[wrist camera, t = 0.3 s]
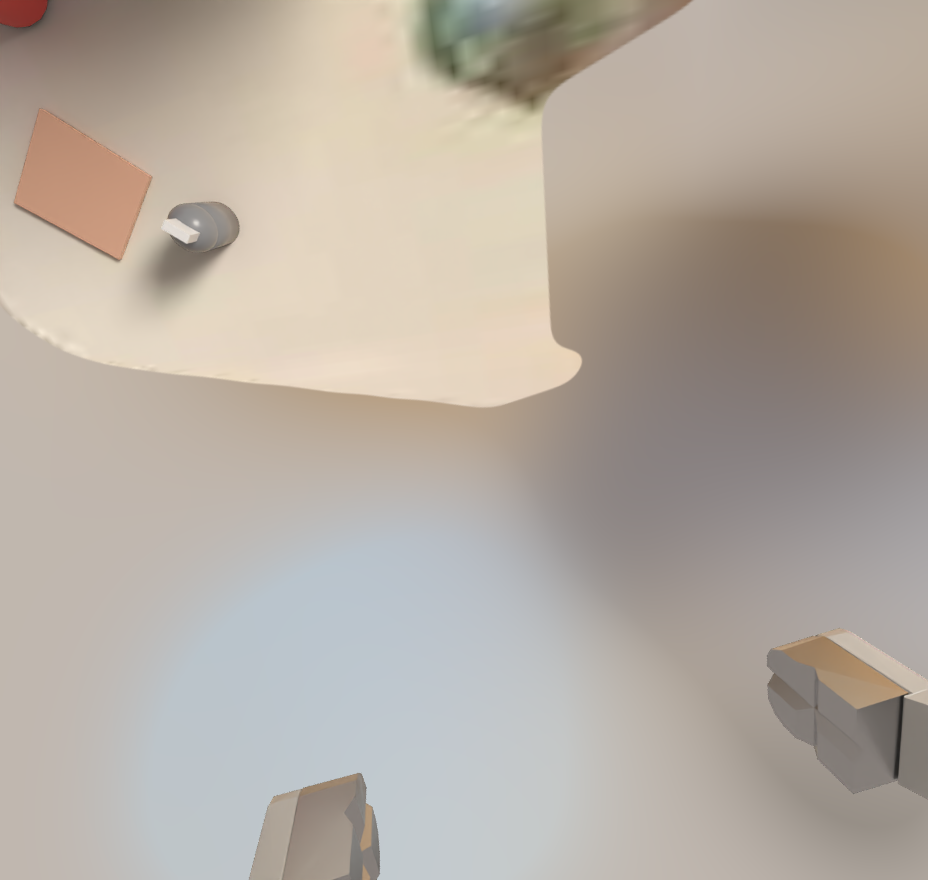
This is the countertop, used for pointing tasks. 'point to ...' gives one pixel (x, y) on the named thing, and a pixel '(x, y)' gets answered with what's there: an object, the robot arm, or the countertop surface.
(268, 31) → the countertop surface
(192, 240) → the grey pump bottle
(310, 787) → the robot arm
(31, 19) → the beer can
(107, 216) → the tile
